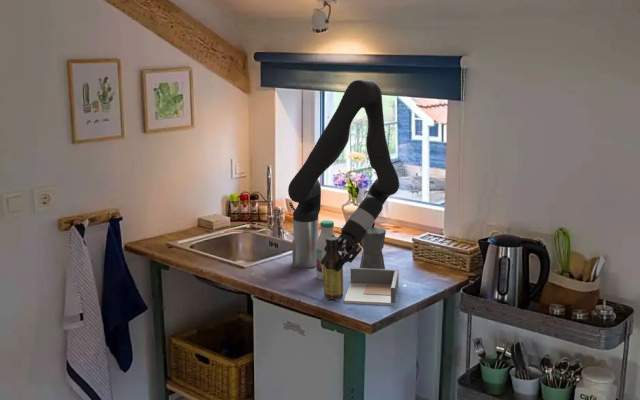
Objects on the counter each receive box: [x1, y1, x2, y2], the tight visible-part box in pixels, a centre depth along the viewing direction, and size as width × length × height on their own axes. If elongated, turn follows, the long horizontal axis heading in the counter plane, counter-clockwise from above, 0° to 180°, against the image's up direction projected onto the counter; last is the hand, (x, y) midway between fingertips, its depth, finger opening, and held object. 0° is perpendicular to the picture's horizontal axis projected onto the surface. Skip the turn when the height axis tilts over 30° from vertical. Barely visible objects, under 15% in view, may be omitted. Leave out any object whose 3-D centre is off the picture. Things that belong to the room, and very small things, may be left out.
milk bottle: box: [315, 219, 336, 281], centre depth 253 cm, size 8×8×20 cm
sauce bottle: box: [323, 236, 344, 300], centre depth 234 cm, size 7×6×20 cm
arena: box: [343, 267, 400, 306], centre depth 237 cm, size 16×18×6 cm
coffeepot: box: [359, 221, 387, 269], centre depth 261 cm, size 15×9×18 cm, turn 34°
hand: (329, 267), depth 233 cm, fingers closed on sauce bottle, 6 cm apart
